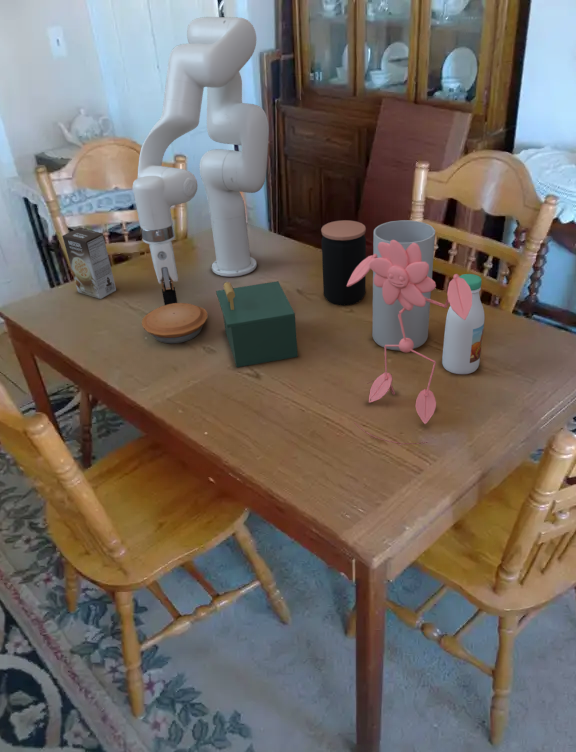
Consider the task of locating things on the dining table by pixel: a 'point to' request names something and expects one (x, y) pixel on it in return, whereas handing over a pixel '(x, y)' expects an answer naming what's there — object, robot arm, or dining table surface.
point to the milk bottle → (464, 333)
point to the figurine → (408, 305)
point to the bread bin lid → (253, 303)
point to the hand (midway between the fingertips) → (171, 303)
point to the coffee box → (89, 262)
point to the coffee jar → (343, 261)
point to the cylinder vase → (386, 315)
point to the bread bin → (263, 341)
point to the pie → (175, 322)
